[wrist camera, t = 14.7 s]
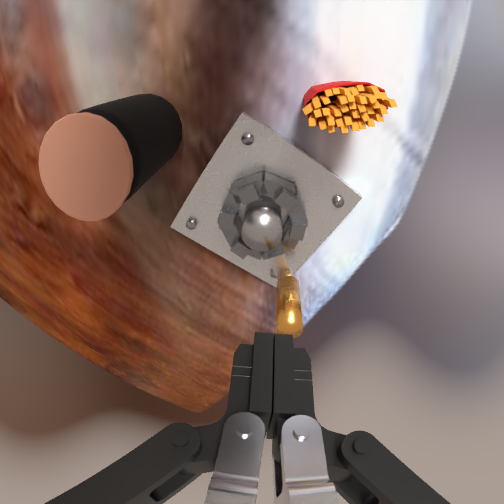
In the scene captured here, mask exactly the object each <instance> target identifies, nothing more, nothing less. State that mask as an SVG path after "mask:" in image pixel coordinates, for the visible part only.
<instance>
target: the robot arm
mask: <svg viewBox="0 0 504 504" xmlns="http://www.w3.org/2000/svg"><path fill="white" fill-rule="evenodd" d="M266 432H267V437H266V438H267V439H273V440H272V461H273V462H272V463H273V482H274V503H273V504H338V503H337V495H336V491H337V492H338V493H339V494H340V495H341V496H342V497H343V498H344V499H345V500H346V501H347V502H348V503H349V504H450V503H449V502H448V501H447V500H445V499H444V498H443V497H442V496H441V495H439V494H438V493H437V492H436V491H435V490H434V489H432V488H431V487H430V486H429V485H428V484H427V483H425V482H424V481H423V480H422V479H421V478H419V477H418V476H417V475H416V474H415V473H414V472H413V471H412V470H410V469H409V468H408V467H407V466H406V465H405V464H404V463H402V462H401V461H400V460H399V459H398V458H397V457H396V456H395V455H394V454H392V453H391V452H390V451H389V450H388V449H387V448H386V447H385V446H383V444H381V443H380V442H379V441H378V440H377V439H376V438H375V437H374V436H373V435H371V434H370V433H368V432H365V431H354V432H352V433H350V434H348V435H343V434H339V433H335V432H332V431H329V430H327V429H325V428H324V427H322V426H321V425H320V424H319V423H318V422H317V419H316V417H315V413H314V399H313V385H312V372H311V360H310V357H309V355H308V354H307V352H306V350H305V349H304V348H293V335H290V334H275V333H274V337H273V333H263V332H255V337H254V345H248V344H240V346H239V347H238V349H237V350H236V352H235V353H234V359H233V367H232V375H231V382H230V390H229V398H228V406H227V411H226V413H225V415H224V416H223V417H222V418H221V419H220V420H219V421H217V422H216V423H213V424H210V425H205V426H199V427H192V426H191V425H189V424H186V423H174V424H170V425H168V426H167V427H165V428H164V429H163V430H161V431H160V432H158V433H157V434H155V435H154V436H153V437H151V438H150V439H148V440H147V441H145V442H144V443H143V444H141V445H140V446H138V447H137V448H135V449H134V450H132V451H131V452H129V453H128V454H126V455H125V456H123V457H122V458H120V459H119V460H117V461H116V462H114V463H112V464H111V465H110V466H108V467H106V468H105V469H103V470H101V471H100V472H98V473H97V474H95V475H93V476H92V477H90V478H88V479H87V480H85V481H83V482H82V483H80V484H79V485H77V486H75V487H73V488H72V489H70V490H68V491H67V492H65V493H63V494H61V495H59V496H57V497H56V498H54V499H52V500H50V501H49V502H46V503H45V504H163V503H164V502H166V501H167V500H168V499H170V498H171V497H172V496H174V495H175V494H176V493H178V492H179V491H181V490H182V489H183V488H185V487H186V486H187V485H188V484H190V483H191V482H192V481H194V480H195V479H196V478H197V477H199V476H200V475H201V474H202V473H206V472H212V471H214V473H213V476H212V478H211V481H210V484H209V488H208V492H207V496H206V500H205V504H255V503H256V497H257V490H258V478H259V471H260V464H261V457H262V450H263V443H264V438H265V435H266Z"/></svg>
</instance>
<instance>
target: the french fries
mask: <svg viewBox="0 0 504 504" xmlns="http://www.w3.org/2000/svg"><path fill="white" fill-rule="evenodd" d="M304 104H305V107H304V108H303V109H302V110H303V112H304V114H305V115H307V116H308V120H309V126H316V125H318V126H320V129H321V130H322V129H328V132H329V133H332V132H335V129H334V127H339V128H340V130H341V132H342V133H348V125H350V127H351V129H352V131H359V129H366V125H368V126H369V127H373V126H375V124H374V120H376V121H377V122H383V121H384V120H383V116H382V114H388V113H387V109H388V106H389V107H397V104H396V102H395V100H394V99H389V98H387V96H386V94H385V90H384V89H381V88H379V87H377V86H375V85H373V84H371V83H367V82H352V81H339V82H332V83H326V84H321V85H316V86H312V87H311V88H310V89H309V90H308V91H307V93H306V94H305V95H304ZM365 124H366V125H365Z"/></svg>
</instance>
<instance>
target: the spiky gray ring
mask: <svg viewBox="0 0 504 504" xmlns="http://www.w3.org/2000/svg"><path fill="white" fill-rule="evenodd" d="M260 195H265V196H268V197H270V198H273V199H274V202H276V203H277V204H278V205H280V206H281V207H282V208H284V209H285V210H286V211H287V212H288V213H289V218H288V220H287V222H286V224H285V226H284V228H283V229H282V239H281V241H280V243H279V244H278V245H277V246H276V247H275V248H273V249H271V250H269V251H256V250H253V249H251V248H249V247H248V246H247V245H246V244H245V243H244V241H243V239H242V235H241V231H242V225H241V222H240V220H239V218H238V216H237V214H236V213H237V211H238V209H239V206H240V204H241V202H242V204H243V205H244V204H247V203H250V202H253V201H256V200H258V199H260ZM217 220H218V222H217V223H218V225H219V229H221V230H222V232H223V234H224V236H225V238H226V240H227V242H228V244H229V246H230V248H231V249H230V251H231V252H233V253H234V254H236V255H237V256H239V257H240V258H242V259H244V258H245V257H246V256H247V255H249V256H251V257H254V258H256V259H259V260H261V258H263V260H265V259H268V260H269V262H270V264H271V267H272V269H273V271H274V273H275V275H276V278H277V280H278V281H277V333H278V334H290V335H293V338H296V337H298V336H299V335H300V334H301V333H302V332H303V324H302V313H301V301H300V290H299V282H298V280H297V279H296V278H295V277H294V275H293V272H292V270H291V267H290V265H289V262H288V260H287V258H286V255H285V253H288V252H291V251H292V250H291V249H293V250H294V248H295V247H296V245H297V243H298V242H299V240H301V241H303V238H304V234H305V230H306V228H307V226H308V219H307V214H306V211H305V208H304V205H303V203H302V200H301V197H300V194H299V192H298V189H297V186H295V185H294V184H293V183H291V182H289V181H286V180H284V179H282V178H279V177H277V176H275V175H272V174H270V173H268V172H265V174H263V172H260V173H257V174H254V175H251V176H249V177H246V178H243V179H241V180H238V181H235V182H233V184H231V186H230V188H229V191H228V193H227V195H226V198H225V200H224V203H223V205H222V208H221V210H220V213H219V216H218V219H217Z"/></svg>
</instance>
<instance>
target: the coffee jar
mask: <svg viewBox="0 0 504 504" xmlns="http://www.w3.org/2000/svg"><path fill="white" fill-rule="evenodd" d="M181 138H182V125H181V121H180V118H179V115H178V113H177V111H176V110H175V109H174V107H173V106H172V104H171V103H169V102H168V101H166V100H165V99H164V98H162V97H160V96H156V95H153V94H139V95H135V96H130V97H126V98H122V99H118V100H115V101H111V102H107V103H104V104H100V105H97V106H93V107H90V108H87V109H84V110H82V111H80V112H78V113H76V114H69V115H67V116H65V117H63V118H61V119H60V120H58V121H56V122H55V123H54V124H53V125H52V127H51V128H50V129H49V130H48V132H47V133H46V134H45V137H44V139H43V142H42V144H41V147H40V153H39V170H40V176H41V180H42V183H43V185H44V187H45V190H46V192H47V194H48V195H49V197H50V198H51V199H52V201H53V202H54V203H55V205H56V206H57V207H58V208H60V209H61V210H62V211H63V212H65V213H66V214H67V215H69V216H71V217H74V218H76V219H79V220H81V221H98V220H101V219H105V218H108V217H109V216H111V215H112V214H113V213H114V212H116V211H117V210H118V209H120V207H121V206H122V204H123V203H124V202H125V201H126V200H128V199H129V198H130V197H131V196H132V195H133V194H134V193H135V192H136V191H137V190H138V189H139V188H140V187H141V186H142V185H143V184H144V183H145V182H146V181H147V180H148V179H149V178H150V177H151V176H152V175H153V174H154V173H155V172H157V171H158V170H159V169H160V168H161V167H162V166H163V165H164V164H165V163H166V162H167V161H168V160H169V159H170V158H171V157H172V156H173V154H174V153H175V152H176V150H177V149H178V147H179V144H180V141H181Z"/></svg>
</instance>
